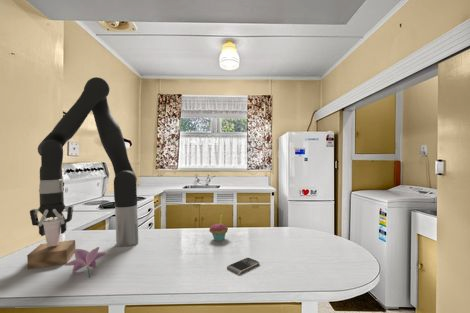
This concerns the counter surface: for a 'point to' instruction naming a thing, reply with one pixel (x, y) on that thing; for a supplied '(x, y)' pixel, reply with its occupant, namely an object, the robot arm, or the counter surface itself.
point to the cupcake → (218, 230)
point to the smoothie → (52, 231)
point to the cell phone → (242, 266)
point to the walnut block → (51, 254)
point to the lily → (85, 259)
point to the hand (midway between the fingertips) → (53, 234)
